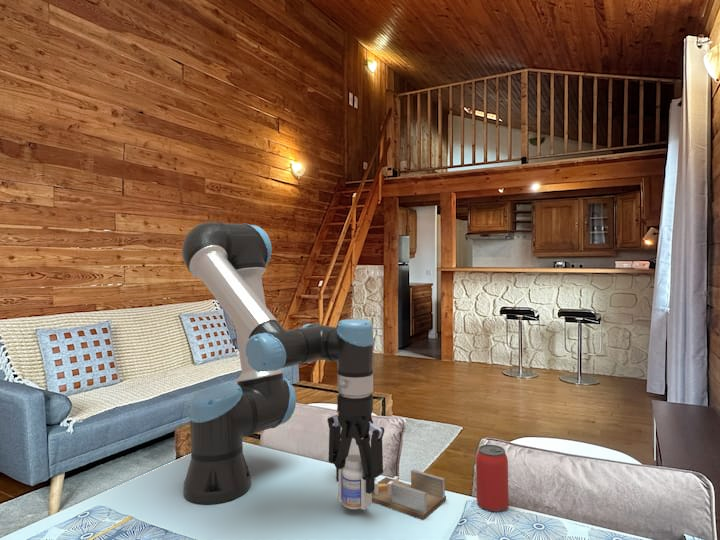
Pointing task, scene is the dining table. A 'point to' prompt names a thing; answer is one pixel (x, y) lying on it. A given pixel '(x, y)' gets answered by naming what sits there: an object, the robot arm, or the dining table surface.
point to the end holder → (418, 491)
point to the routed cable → (385, 486)
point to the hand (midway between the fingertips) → (354, 501)
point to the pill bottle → (352, 482)
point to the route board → (386, 500)
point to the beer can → (492, 478)
